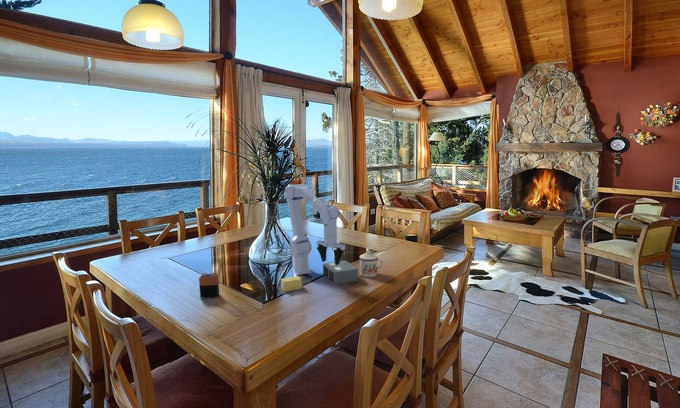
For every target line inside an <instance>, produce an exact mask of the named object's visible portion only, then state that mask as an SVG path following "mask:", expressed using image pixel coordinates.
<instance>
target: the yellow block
mask: <svg viewBox="0 0 680 408" xmlns="http://www.w3.org/2000/svg"><path fill="white" fill-rule="evenodd" d="M280 284H281V285H280V287H281V289H282V290H283V291H284V292H286V291H292V290H297V289H302V286H303V284H302V278H301V277H300V276H299V275H295V276H292V277H291V276H290V277H284V278H280Z"/></svg>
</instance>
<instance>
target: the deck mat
mask: <svg viewBox="0 0 680 408" xmlns="http://www.w3.org/2000/svg"><path fill="white" fill-rule="evenodd" d="M276 289H277V290H278V292H279V293H280V294H281V295H284V294H285V295H286V294H291V293H296V292H297V293H298V292H303V291H307V288H305V287H304V285H302V289H297V290H292V291H286V292H284V291H283V290H282V289H281V286H279V287H276Z"/></svg>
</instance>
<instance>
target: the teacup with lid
mask: <svg viewBox="0 0 680 408" xmlns="http://www.w3.org/2000/svg"><path fill="white" fill-rule="evenodd" d="M358 257H359V275H360V276H362V277H364V278H374V277H377V275H378V270H380V269H382V268H383V267H384V260H382V259H381V258H379V257H378V255H377V254H374V253H372V252H371V250H367V251H366V252H365V253H363V254H360V255H359V256H358ZM378 262H380V263H381V264H380V266H378Z"/></svg>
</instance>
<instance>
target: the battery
mask: <svg viewBox="0 0 680 408" xmlns="http://www.w3.org/2000/svg"><path fill="white" fill-rule="evenodd" d="M219 281H220V280H219V274H218V273H215V272H212V273H207V272H202V273H201V275H200V276H199V278H198V284H199V297H216V298H218V296H219V295H218V294H220V284H219Z"/></svg>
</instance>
